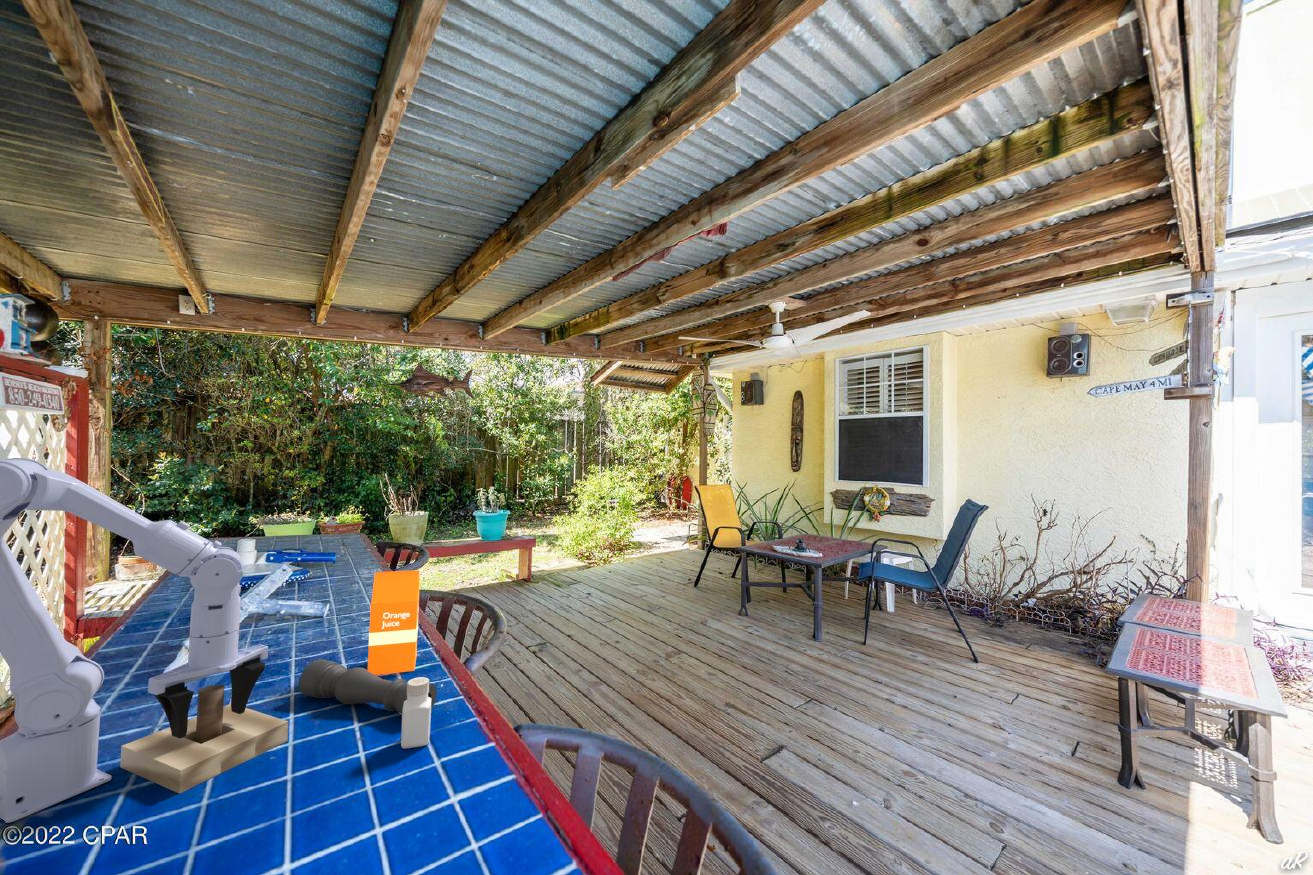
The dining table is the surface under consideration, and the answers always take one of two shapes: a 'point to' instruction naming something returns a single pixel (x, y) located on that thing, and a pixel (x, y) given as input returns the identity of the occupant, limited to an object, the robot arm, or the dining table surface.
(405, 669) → the orange juice
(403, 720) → the pepper shaker
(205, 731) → the walnut peg
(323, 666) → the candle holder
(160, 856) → the dining table surface
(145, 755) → the socket block
